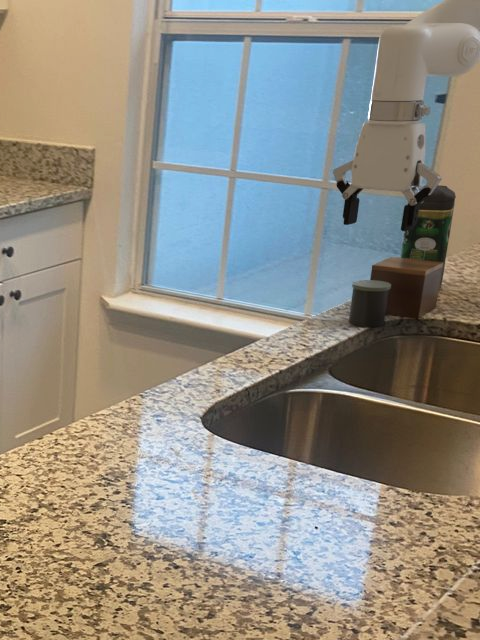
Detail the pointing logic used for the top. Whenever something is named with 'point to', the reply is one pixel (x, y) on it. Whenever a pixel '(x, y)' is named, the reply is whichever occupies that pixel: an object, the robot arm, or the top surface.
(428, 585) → the top surface
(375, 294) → the container
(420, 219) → the coffee jar
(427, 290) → the box
